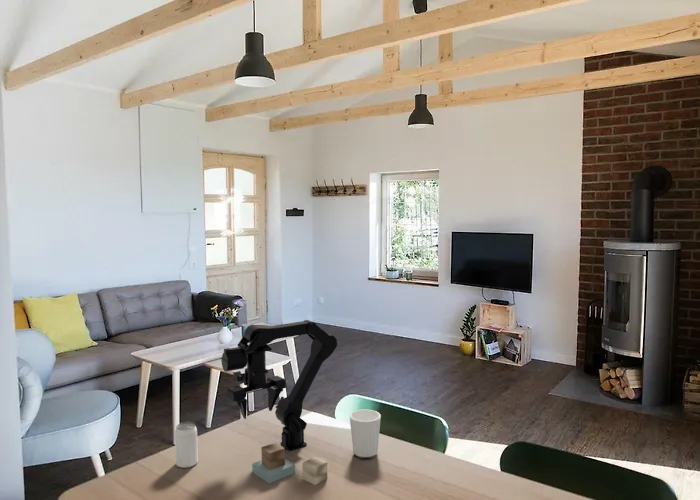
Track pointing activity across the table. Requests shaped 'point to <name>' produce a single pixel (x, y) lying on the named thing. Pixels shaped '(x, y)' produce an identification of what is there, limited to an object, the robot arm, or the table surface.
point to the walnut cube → (273, 456)
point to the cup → (365, 432)
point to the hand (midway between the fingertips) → (257, 414)
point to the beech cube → (314, 470)
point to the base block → (273, 471)
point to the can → (186, 445)
